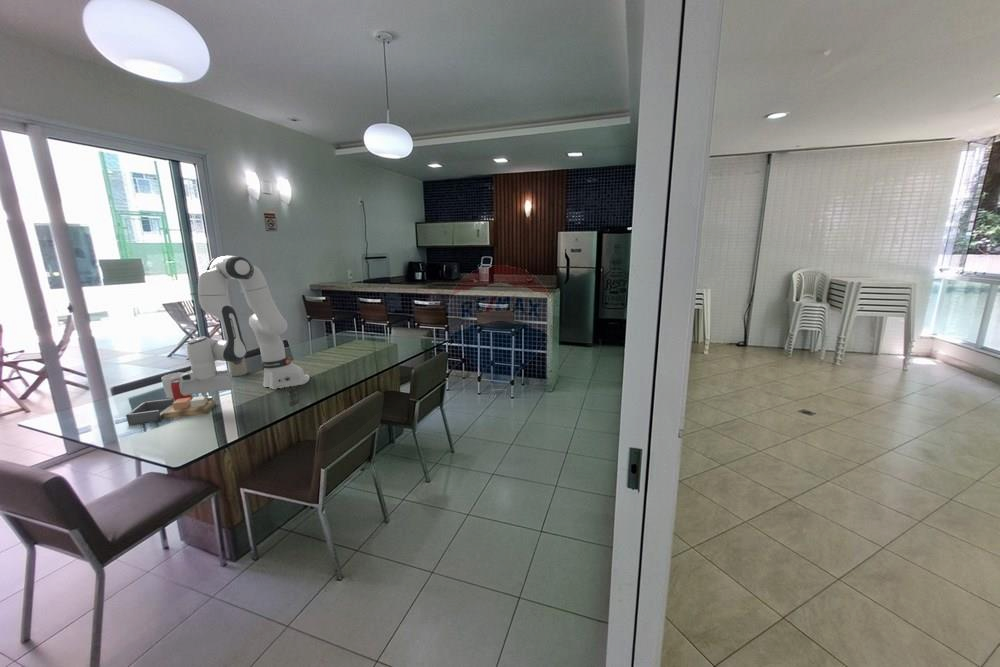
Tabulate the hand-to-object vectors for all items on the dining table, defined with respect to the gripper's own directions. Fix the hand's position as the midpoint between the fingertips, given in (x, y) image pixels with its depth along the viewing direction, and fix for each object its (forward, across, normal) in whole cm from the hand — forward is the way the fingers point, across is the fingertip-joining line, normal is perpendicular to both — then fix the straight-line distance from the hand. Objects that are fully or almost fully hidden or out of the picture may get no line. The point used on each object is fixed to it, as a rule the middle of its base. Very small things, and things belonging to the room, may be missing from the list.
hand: (210, 400), depth 177 cm
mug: (+4, +21, -25) cm, 33 cm away
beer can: (+4, +16, -12) cm, 20 cm away
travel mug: (+4, +2, -50) cm, 50 cm away
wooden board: (+4, +8, 0) cm, 9 cm away
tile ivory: (+1, +4, 0) cm, 5 cm away
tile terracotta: (+1, +11, 0) cm, 11 cm away
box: (+4, +23, 0) cm, 23 cm away
